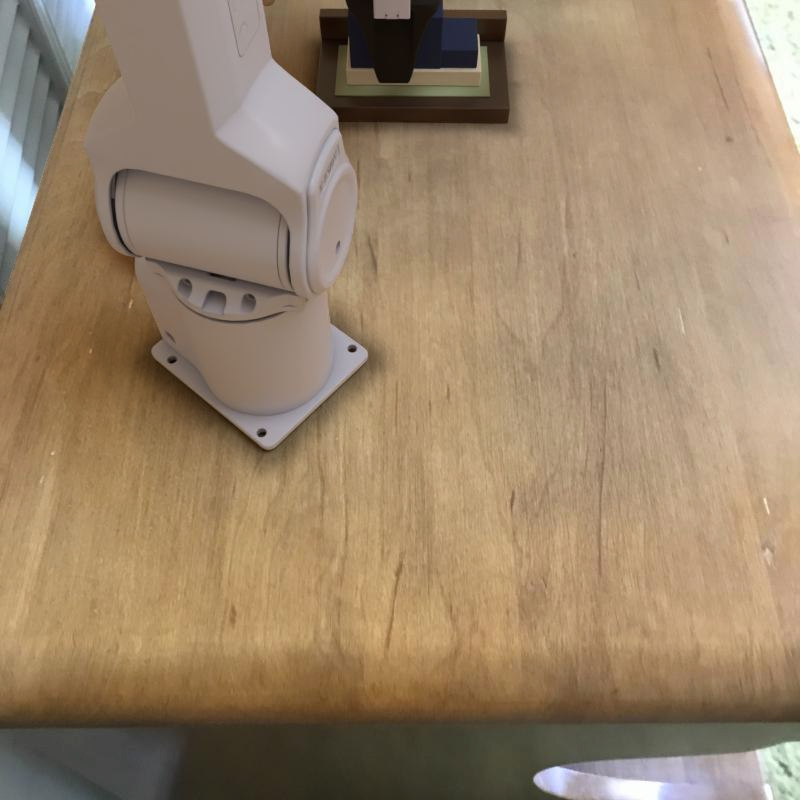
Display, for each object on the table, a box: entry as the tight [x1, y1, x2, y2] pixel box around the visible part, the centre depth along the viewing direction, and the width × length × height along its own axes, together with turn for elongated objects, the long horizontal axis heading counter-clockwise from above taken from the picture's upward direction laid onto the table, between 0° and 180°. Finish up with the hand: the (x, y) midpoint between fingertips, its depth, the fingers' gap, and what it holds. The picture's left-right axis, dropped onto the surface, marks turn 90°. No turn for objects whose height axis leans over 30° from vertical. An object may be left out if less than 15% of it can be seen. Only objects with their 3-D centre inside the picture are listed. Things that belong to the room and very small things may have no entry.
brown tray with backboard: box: [315, 8, 511, 124], centre depth 57 cm, size 13×8×3 cm, turn 89°
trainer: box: [346, 0, 481, 86], centre depth 55 cm, size 9×4×5 cm, turn 89°
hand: (394, 51), depth 56 cm, fingers open, 5 cm apart
